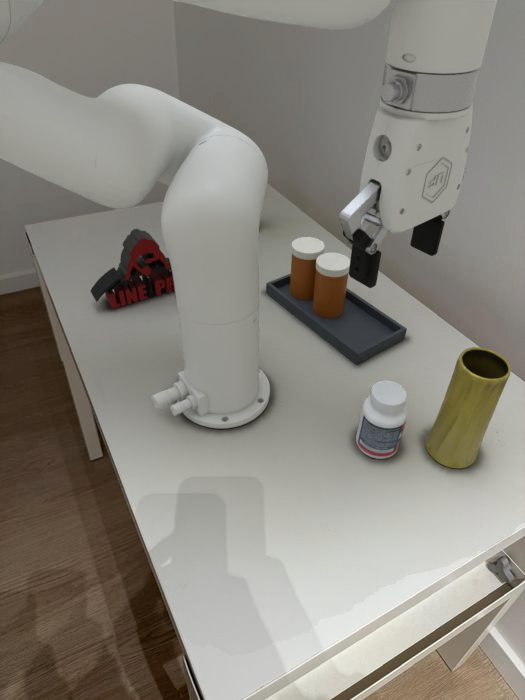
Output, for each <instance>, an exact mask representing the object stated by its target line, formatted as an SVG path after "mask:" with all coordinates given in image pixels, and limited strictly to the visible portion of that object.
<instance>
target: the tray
mask: <svg viewBox="0 0 525 700" xmlns="http://www.w3.org/2000/svg"><path fill="white" fill-rule="evenodd" d="M290 278H291V273H288V274H285V275H283V276H281V277H278V278H276V279H273V280H271V281H268V282H266V283H265V284H266V285H265V287H266V288H265V293H266V294H267V295H269V296H270V298H272V299H273V300H275V301H276V302H277V303H278V304H279V305H281V307H283V308H284V309H286V310H287V311H288V312H290V313H291V314H292V315H294V317H296V318H297V319H298V320H300V322H302V323H304V324H305V325H306V326H307V327H308V328H310V329H311V330H312V331H314V333H316V334H317V335H319V336H320V337H321V338H322V339H323V340H325V341H326V342H327V343H328V344H330V345H331V346H333V347H334V348H335V349H336V350H337V351H338V352H340V353H341V354H343V356H344V357H346V358H347V359H349V360H350V361H351V362H352V363H354V364H355V365H359V364H360V363H362V362H365V361H366V360H368V359H369V358H371V357H373V356H375V355H377V354H379V353H381V352H383V351H385V350H387V349H388V348H390V347H392V346H394V345H397V344H398V343H399V342H401V341H403V340H405V338H406V336H407V331H408V328H407V327H405V326H404V325H403V324H401V323H399V322H398V321H396V319H393V318H392V317H390V316H389V315H387V313H384V312H383V311H382V310H380V309H379V308H377V307H375V306H374V305H373V304H372V303H370V302H369V301H367V300H366V299H364V298H363V297H361V296H359V295H358V294H357V293H355V292H353V291H352V290H351V289H349V288H346V295H345V302H344V309H343V313H342V314H341V315H340V316H338V317H336V318H323V317H320V316H318V315H317V314H315V313H314V311H313V299H312V300H299V299H296V298H294V297H293V296H292V295H291V294H290Z"/></svg>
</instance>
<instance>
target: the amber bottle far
mask: <svg viewBox="0 0 525 700" xmlns="http://www.w3.org/2000/svg"><path fill="white" fill-rule="evenodd" d="M324 253H325V242H323V240H321V239H320V238H319V239H318V238H316V237H312V236H301V237H297V238H295V239H293V241H292V242H291V262H290V263H291V264H290V274H291V278H290V294H291V295H292V296H293V297H294V298H296V299H299V300H312V299H313V297H314V287H315V276H316V259H317V257H318V256H320V255H321V254H324Z"/></svg>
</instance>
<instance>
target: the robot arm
mask: <svg viewBox="0 0 525 700" xmlns="http://www.w3.org/2000/svg"><path fill="white" fill-rule="evenodd" d="M44 1H45V0H0V44H2V43H5V42H6V41H7V40H8V39H9V38H11V37H13V35H15V33H16V32H17V31H19V30H20V29H21V27H22V26H23V25H24V24H25V23H26V22H27V21H28V20H29V18H30V17H31V16H32V15H33V14H34V13H35V12H36V10H37V9H38V8H39V7H40V6H41V5H42V4H43V2H44ZM171 1H172V2H176V3H182V4H189V5H193V6H197V7H201V8H204V9H208V10H212V11H217V12H221V13H224V14H228V15H234V16H237V17H238V16H239V17H243V18H248V19H253V20H261V21H266V22H267V21H268V22H272V23H273V22H274V23H281V24H287V25H294V26H301V27H307V28H313V29H323V30H331V31H336V30H337V31H338V30H339V31H340V30H348V29H354V28H357V27H360V26H363V25H366V24H367V23H369V22H370V21H372V20H374V19H375V18H376V17H378V16H379V15H380V14H381V13H382V12H383V11H384V10H385V9H386V8H387V7H388V6H389V5H390V7H391V18H390V26H389V33H388V41H387V48H386V53H385V54H386V55H385V61H384V68H383V75H382V76H383V77H382V83H381V89H380V99H379V108H377V110H376V113H375V116H374V120H373V124H372V127H371V132H370V134H369V137H368V143H367V146H366V151H365V157H364V161H363V165H362V171H361V176H360V184H359V190H358V193H357V194H356V196H355V197H354V198H353V199H352V200H350V202H349V203H348V204H347V205H345V207H344V208H343V209H342V210H341V211H340V212H339V215H338V220H339V223H340V226H341V229H342V236H343V237H344V238H345V239H347V241H348V243H349V244H350V245H351V252H350V258H349V259H350V267H349V274H348V276H349V277H350V278H351V279H353V280H355V281H357V282H358V283H360V284H361V285H363V286H365V287H367V288H368V289H372V288H374V287H376V285H377V282H378V276H379V270H380V264H381V259H382V251H380V250H379V248H380V246H381V245H382V243H383V241H384V240H385V238H386V237H387V235H388V233H389V232H390V233H391V234H392V233H393V234H401V233H404V232H406V231H408V230H410V229H412V228H413V229H412V234H411V239H410V243H409V245H410V246H411V247H412V248H414V249H416V250H417V251H420V252H422V253H424V254H426V255H428V256H430V257H433V256H435V255H437V254H438V252H439V247H440V243H441V241H442V240H441V239H442V235H443V232H444V227H445V224H446V221H445V220H447V219H448V218H449V217H450V215H451V209H453V208H454V206H455V205H456V203H457V201H458V199H459V195H460V192H461V187H462V183H463V181H464V179H465V177H466V175H467V173H468V169H467V167H466V164H467V163H466V162H467V158H468V152H469V148H470V147H469V146H470V142H471V141H470V140H471V134H472V126H473V113H474V112H473V110H474V108H473V107H474V103H473V101H474V96H475V93H476V88H477V84H478V80H479V76H480V72H481V67H482V64H483V60H484V56H485V52H486V48H487V45H488V41H489V40H488V39H489V35H490V32H491V28H492V23H493V19H494V15H495V11H496V7H497V3H498V0H171ZM0 159H1V160H3V161H5V162H7V163H10V164H11V165H14V166H15V167H18V168H20V169H22V170H24V171H26V172H27V173H29V174H32V175H34V176H37V177H39V178H40V179H43V180H45V181H48V182H50V183H52V184H54V185H57V186H59V187H60V188H63V189H65V190H67V191H69V192H72V193H74V194H76V195H79V196H80V197H83V198H85V199H87V200H89V201H91V202H94V203H96V204H98V205H101V206H104V207H107V208H111V209H115V210H124V209H130V208H133V207H134V206H137V205H138V204H139V203H141V202H142V201H143V200H144V199H145V198H147V196H148V195H149V193H151V191H152V190H153V189H154V187H155V186H156V185H157V183H158V182H159V183H161V184H164V185H165V186H168V187H167V190H166V191H165V195H164V199H163V202H162V207H161V212H160V228H161V235H162V239H163V243H164V246H165V249H166V253H167V258H169V260H170V264H171V268H172V274H173V280H174V286H175V291H174V294H175V302H176V306H177V307H176V309H177V316H178V324H179V325H178V326H179V333H180V340H181V342H180V343H181V350H182V358H183V366H184V369H183V370H181V371H179V372H177V378H178V380H177V381H176V382H174V383H172V387H170V388H168V389H167V388H166V390H165V389H164V390H161V391H159V392H157V393H155V394H154V393H153V395H151V398H150V399H151V401H152V404H153V406H154V407H155V408H156V410H160V409H162V408H164V407H166V406H168V405H170V407H169V408H170V411H171V413H172V415H173V416H174V417H175V416H178V415H180V414H183V415H184V416H185V417H186V418H187V419H189V420H190V421H191V422H193V423H195V424H197V425H199V426H202V427H206V428H211V429H230V428H231V429H232V428H238V427H240V426H243V425H246V424H248V423H250V422H252V421H254V420H255V419H256V418H258V417H259V416H260V415H261V414H262V413H263V411H265V410H266V408H267V406H268V404H269V402H270V401H269V400H270V397H271V385H270V380H269V378H268V377H267V375H266V373H264V371H263V370H262V369H261V368H260V261H259V233H260V223H261V216H262V212H263V207H264V204H265V203H264V201H265V198H266V194H267V193H266V192H267V187H268V181H269V170H268V164H267V160H266V157H265V155H264V153H263V151H262V150H261V149H260V147H259V146H258V145H257V144H256V143H255V141H254V140H252V139H251V137H249V136H248V135H246V134H244V132H241V131H240V130H238V129H236V128H235V127H232V126H231V125H229V124H227V123H225V122H223V121H222V120H219V119H217V118H215V117H213V116H211V115H210V114H207V113H206V112H204V111H202V110H200V109H198V108H196V107H194V106H192V105H190V104H189V103H186V102H184V101H182V100H180V99H178V98H176V97H174V96H172V95H170V94H168V93H167V92H164V91H162V90H159V89H157V88H154V87H151V86H148V85H143V84H138V83H122V84H118V85H115V86H112V87H111V88H108V89H107V90H105V91H104V92H102V93H101V94H99V95H98V96H97V97H90V96H86V95H84V94H81V93H78V92H76V91H73V90H71V89H69V88H67V87H66V86H63V85H60V84H58V83H56V82H54V81H53V80H50V79H49V78H47V77H45V76H43V75H42V74H40V73H37V72H35V71H32V70H31V69H28V68H25V67H21V66H19V65H15V64H12V63H7V62H4V61H2V60H1V61H0ZM377 215H380V217H379V216H377ZM370 225H373V226H375V227H376V229H375V231H374V232H373V234H372V235H371V237H370V235H368V233H367V232H366V231H367V230H368V228H369V227H370ZM175 401H176V402H175ZM173 402H175V403H174V404H172V403H173Z"/></svg>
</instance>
